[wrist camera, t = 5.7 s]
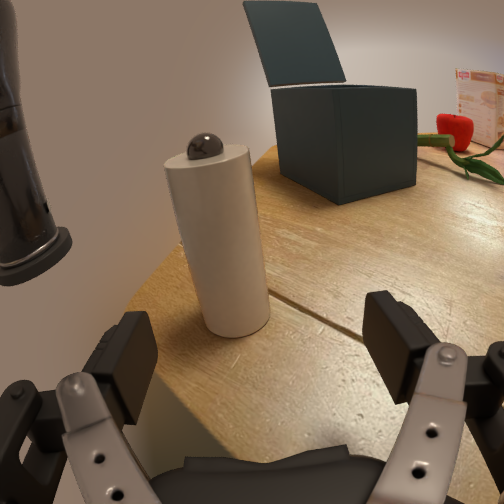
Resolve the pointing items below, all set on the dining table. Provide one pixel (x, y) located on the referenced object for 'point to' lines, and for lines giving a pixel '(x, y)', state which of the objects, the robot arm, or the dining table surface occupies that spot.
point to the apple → (456, 129)
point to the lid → (293, 43)
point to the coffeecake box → (482, 104)
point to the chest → (347, 139)
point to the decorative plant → (467, 162)
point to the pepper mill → (221, 233)
